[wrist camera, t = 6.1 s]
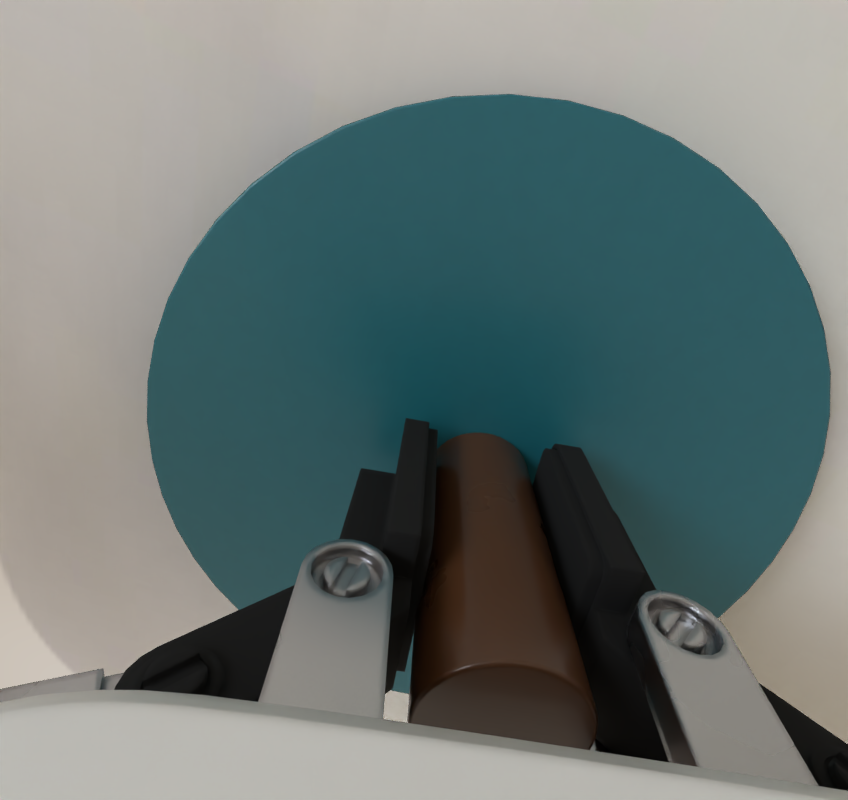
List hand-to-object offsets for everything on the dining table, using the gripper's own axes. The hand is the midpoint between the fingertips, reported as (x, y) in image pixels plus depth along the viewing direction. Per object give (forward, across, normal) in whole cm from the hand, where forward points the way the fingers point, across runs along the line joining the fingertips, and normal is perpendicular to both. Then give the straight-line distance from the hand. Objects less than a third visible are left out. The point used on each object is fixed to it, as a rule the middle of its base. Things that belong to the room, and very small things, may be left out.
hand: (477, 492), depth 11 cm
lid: (+1, 0, 0) cm, 1 cm away
